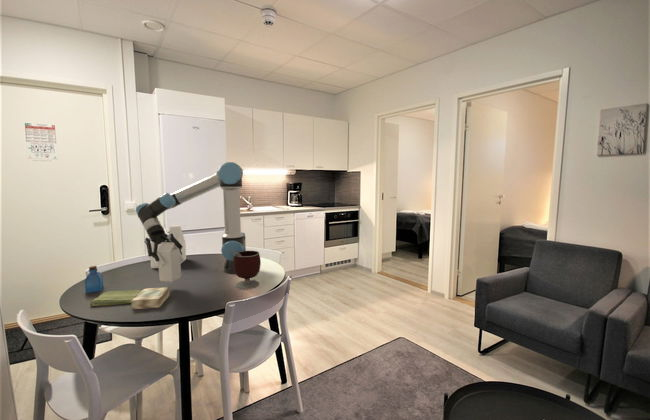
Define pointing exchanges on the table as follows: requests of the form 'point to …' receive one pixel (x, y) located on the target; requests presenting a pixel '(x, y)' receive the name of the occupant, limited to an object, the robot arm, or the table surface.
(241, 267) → the dark red goblet
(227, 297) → the table surface
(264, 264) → the table surface
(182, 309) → the table surface
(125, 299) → the washcloth
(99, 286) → the perfume bottle
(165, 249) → the milk carton
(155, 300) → the beige book
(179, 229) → the white notched block
